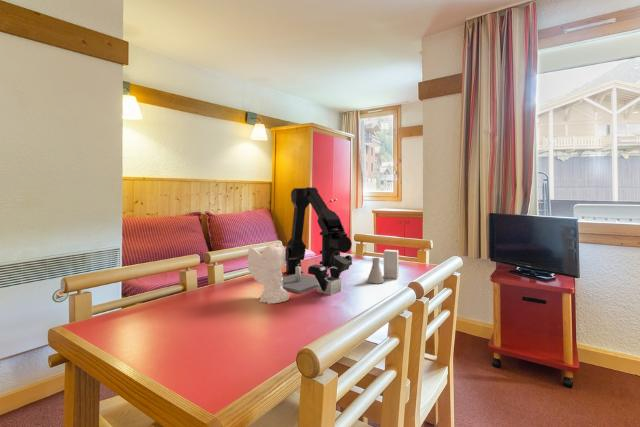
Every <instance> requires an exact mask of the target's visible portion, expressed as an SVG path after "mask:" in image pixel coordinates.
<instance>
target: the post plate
mask: <svg viewBox="0 0 640 427" xmlns="http://www.w3.org/2000/svg"><path fill="white" fill-rule="evenodd" d="M295 269H296V274H293V275H290V274H289V275H287V276H284V277H283V276H282V277H283V281H282V282H283V285H282V287H283V289H284V290H286V291H287V292H288V291H289V292H293V293H297V294H303V293H305V292H308V291H311V290H313V289H316V288H318V280H317V279H316V277H315V276H309V275H305V274H303V273H301V271H302V266H301V267H300V266H296V267H295Z"/></svg>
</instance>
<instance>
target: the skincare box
mask: <svg viewBox="0 0 640 427" xmlns="http://www.w3.org/2000/svg"><path fill="white" fill-rule="evenodd" d="M399 254H400V252H399V250H398V249H384V251H383V279H394V280H398V279H399V277H400V274H399V263H400V262H399V261H400V260H399V256H400V255H399Z"/></svg>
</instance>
